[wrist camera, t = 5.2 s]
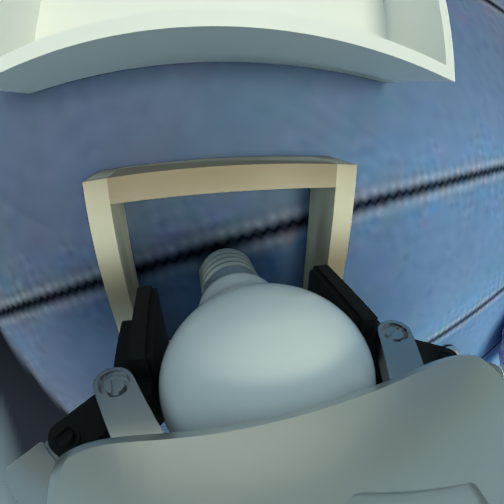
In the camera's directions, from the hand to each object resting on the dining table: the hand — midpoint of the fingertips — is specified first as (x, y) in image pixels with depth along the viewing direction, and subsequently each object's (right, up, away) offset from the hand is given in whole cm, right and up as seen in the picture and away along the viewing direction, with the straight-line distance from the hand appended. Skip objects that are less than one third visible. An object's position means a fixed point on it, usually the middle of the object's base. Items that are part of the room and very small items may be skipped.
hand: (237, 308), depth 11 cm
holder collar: (-1, +1, +3) cm, 4 cm away
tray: (-1, +19, -5) cm, 19 cm away
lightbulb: (-1, +2, +3) cm, 4 cm away
